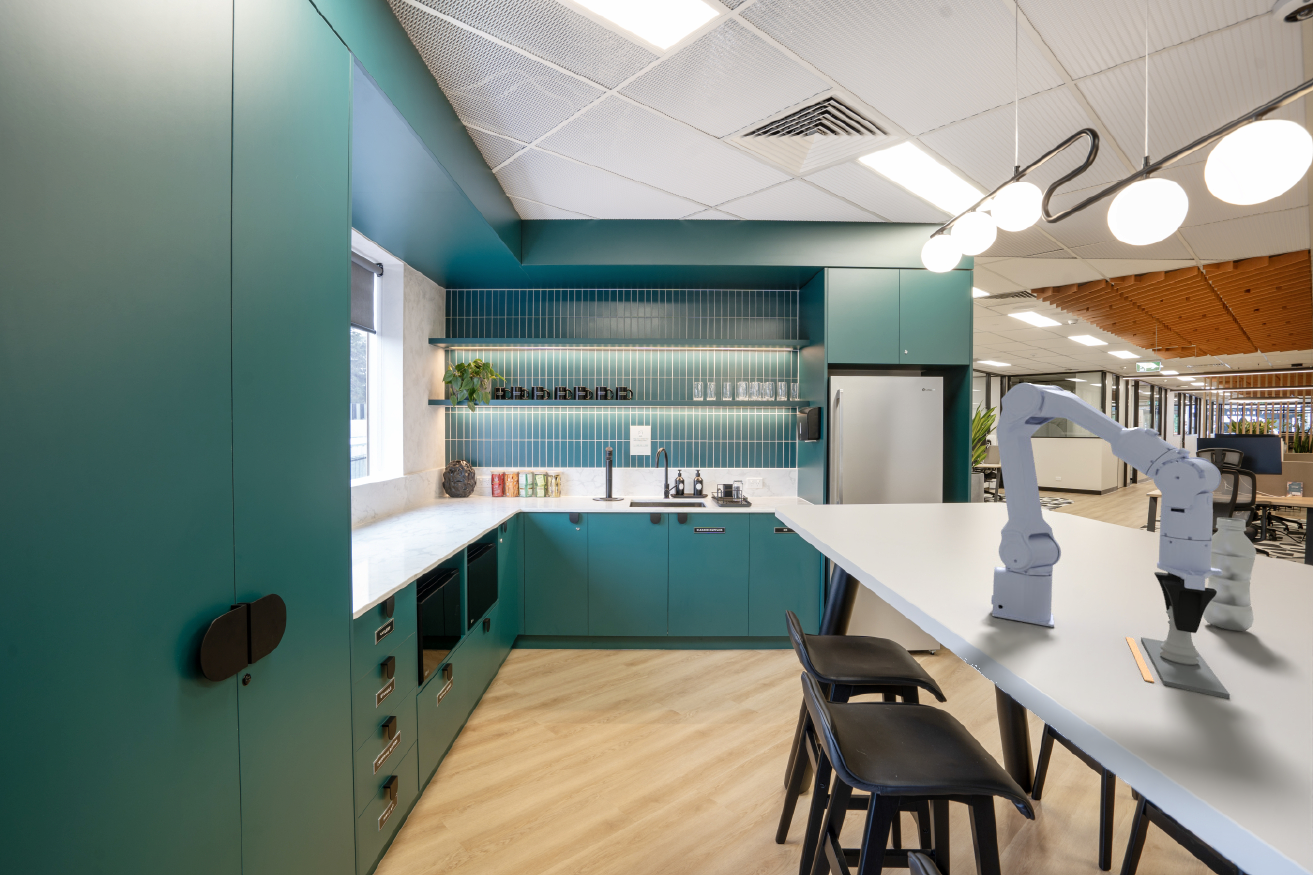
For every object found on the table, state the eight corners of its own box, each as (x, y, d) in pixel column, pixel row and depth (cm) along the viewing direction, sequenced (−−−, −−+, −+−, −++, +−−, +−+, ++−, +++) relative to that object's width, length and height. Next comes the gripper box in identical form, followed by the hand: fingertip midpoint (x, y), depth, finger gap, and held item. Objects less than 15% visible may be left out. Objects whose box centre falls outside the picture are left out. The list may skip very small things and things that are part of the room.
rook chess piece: (1207, 667, 81) (1209, 614, 81) (1171, 664, 82) (1173, 611, 82) (1185, 655, 86) (1187, 604, 85) (1152, 652, 87) (1153, 602, 86)
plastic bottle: (1237, 624, 102) (1241, 517, 102) (1263, 637, 96) (1267, 523, 95) (1193, 620, 104) (1197, 515, 104) (1216, 632, 98) (1220, 520, 98)
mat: (1163, 684, 77) (1163, 680, 77) (1140, 640, 93) (1141, 637, 93) (1229, 698, 73) (1229, 694, 73) (1193, 650, 89) (1193, 646, 89)
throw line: (1144, 680, 78) (1144, 679, 78) (1125, 638, 94) (1125, 636, 94) (1154, 682, 77) (1154, 681, 77) (1133, 639, 94) (1133, 638, 94)
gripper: (1237, 548, 75) (1233, 647, 75) (1209, 533, 87) (1206, 618, 87) (1167, 542, 79) (1164, 635, 79) (1150, 528, 91) (1147, 609, 91)
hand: (1182, 625), depth 84 cm, fingers open, 5 cm apart
